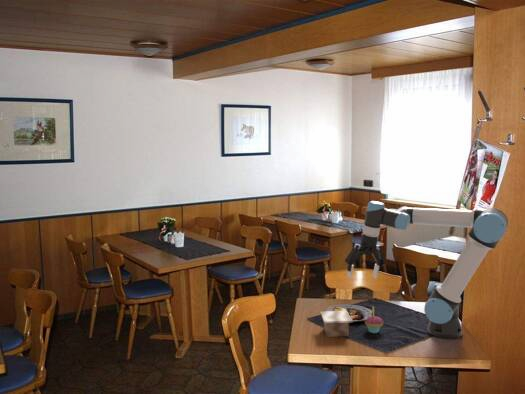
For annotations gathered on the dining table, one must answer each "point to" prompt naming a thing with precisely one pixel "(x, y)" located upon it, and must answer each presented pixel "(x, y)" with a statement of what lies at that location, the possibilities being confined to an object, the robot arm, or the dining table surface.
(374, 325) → the cupcake
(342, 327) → the white box
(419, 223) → the robot arm
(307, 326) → the dining table surface
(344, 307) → the food plate
